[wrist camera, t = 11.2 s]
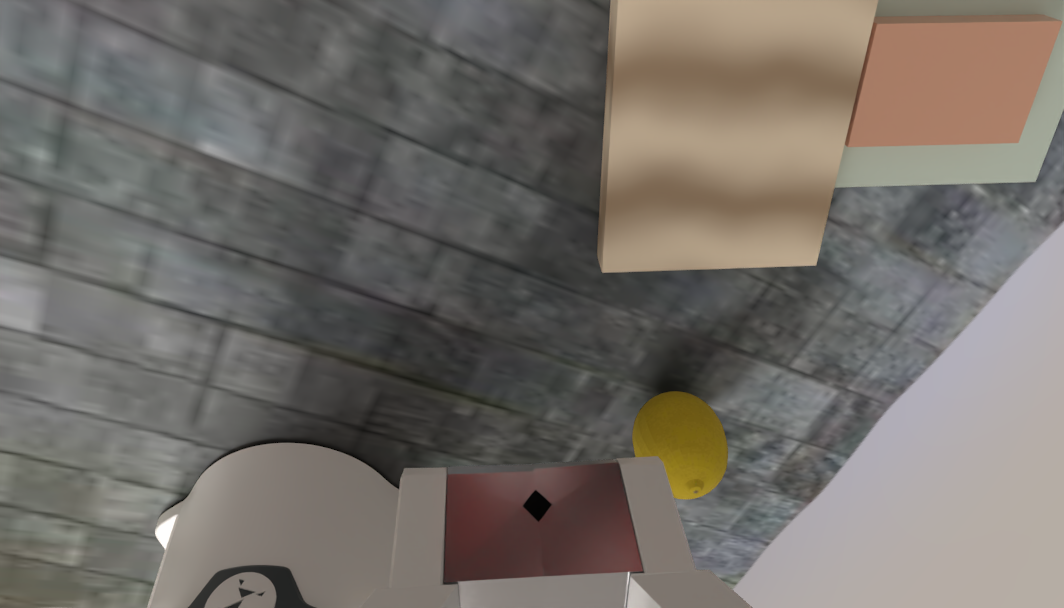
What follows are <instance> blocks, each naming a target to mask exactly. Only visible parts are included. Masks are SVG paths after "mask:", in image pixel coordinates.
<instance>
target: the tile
mask: <svg viewBox="0 0 1064 608" xmlns="http://www.w3.org/2000/svg"><path fill="white" fill-rule="evenodd" d="M1062 22H1063V21H1061V20H1058V19H1055V18H1052V17H1049V16H1046V15H1043V14H1026V15H955V16H883V17H874V21H873V26H872V30H871V34H870V38H869V43H868V47H867V51H866V55H865V60H864V64H863V68H862V72H861V77H860V81H859V85H858V89H857V94H856V98H855V102H854V106H853V111H852V115H851V119H850V124H849V128H848V132H847V136H846V141H845V145H846V146H847V147H877V146H918V145H959V144H1000V143H1019V140H1020V137H1021V134H1022V132H1023V129H1024V126H1025V123H1026V121H1027V118H1028V115H1029V113H1030V110H1031V107H1032V104H1033V102H1034V99H1035V96H1036V93H1037V91H1038V88H1039V85H1040V82H1041V80H1042V77H1043V74H1044V72H1045V69H1046V66H1047V63H1048V61H1049V58H1050V55H1051V52H1052V50H1053V47H1054V44H1055V41H1056V39H1057V36H1058V33H1059V30H1060V28H1061V25H1062Z"/></svg>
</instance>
